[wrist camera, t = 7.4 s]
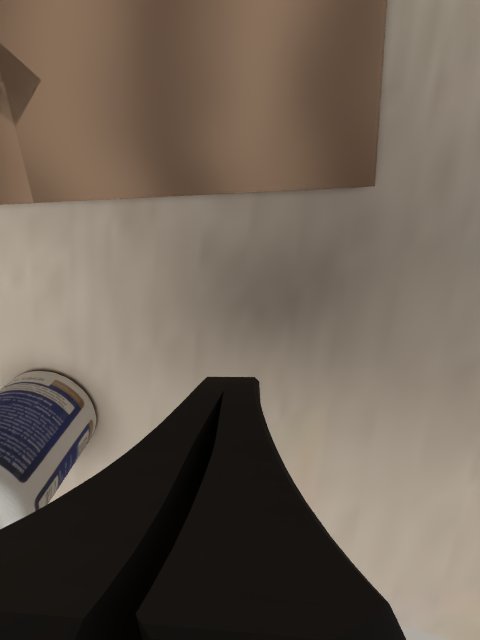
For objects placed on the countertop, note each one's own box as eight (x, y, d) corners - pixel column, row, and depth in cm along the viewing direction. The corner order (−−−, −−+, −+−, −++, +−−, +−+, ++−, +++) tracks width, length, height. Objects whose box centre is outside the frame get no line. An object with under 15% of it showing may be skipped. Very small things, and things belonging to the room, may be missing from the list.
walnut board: (394, -308, 12) (412, -389, 10) (365, 180, 17) (374, 186, 15) (-197, -193, 14) (-269, -241, 12) (-62, 202, 19) (-98, 209, 17)
